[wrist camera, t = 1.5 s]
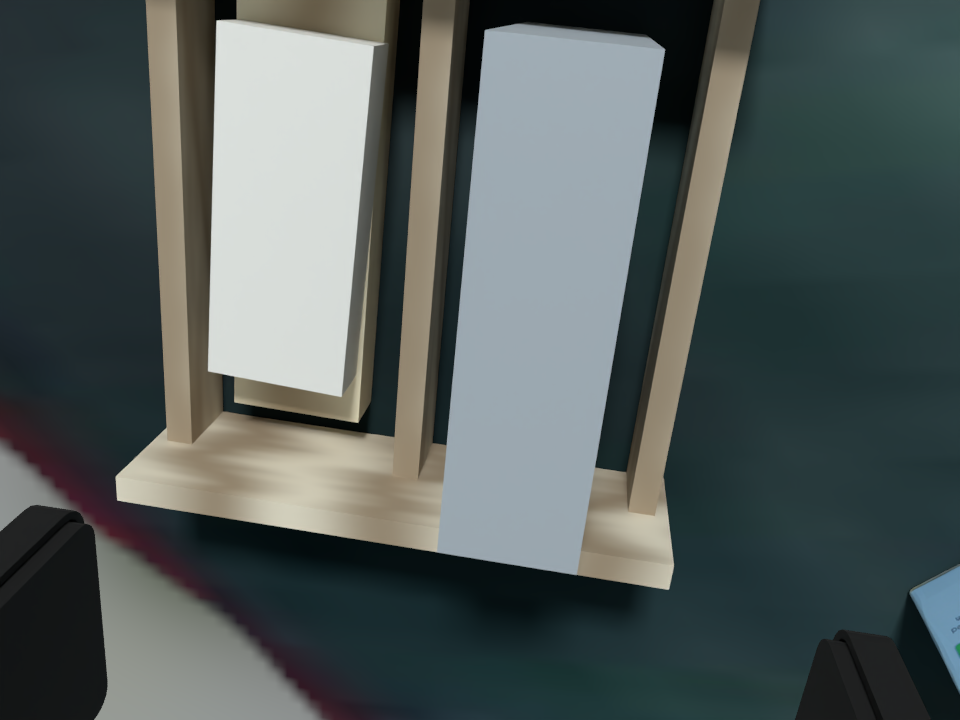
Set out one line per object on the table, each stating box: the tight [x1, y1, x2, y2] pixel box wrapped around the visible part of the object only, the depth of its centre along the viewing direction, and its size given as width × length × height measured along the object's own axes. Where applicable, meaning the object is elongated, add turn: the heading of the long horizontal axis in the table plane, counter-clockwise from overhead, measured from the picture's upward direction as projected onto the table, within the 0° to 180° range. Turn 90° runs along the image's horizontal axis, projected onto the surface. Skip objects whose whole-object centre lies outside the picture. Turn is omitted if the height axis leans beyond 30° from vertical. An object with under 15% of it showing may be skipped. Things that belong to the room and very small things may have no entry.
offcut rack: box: [116, 0, 760, 590], centre depth 30 cm, size 20×21×6 cm
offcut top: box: [208, 19, 389, 397], centre depth 30 cm, size 5×12×2 cm, turn 171°
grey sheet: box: [437, 22, 665, 575], centre depth 27 cm, size 4×14×11 cm, turn 174°
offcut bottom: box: [234, 0, 400, 423], centre depth 32 cm, size 5×16×2 cm, turn 173°
